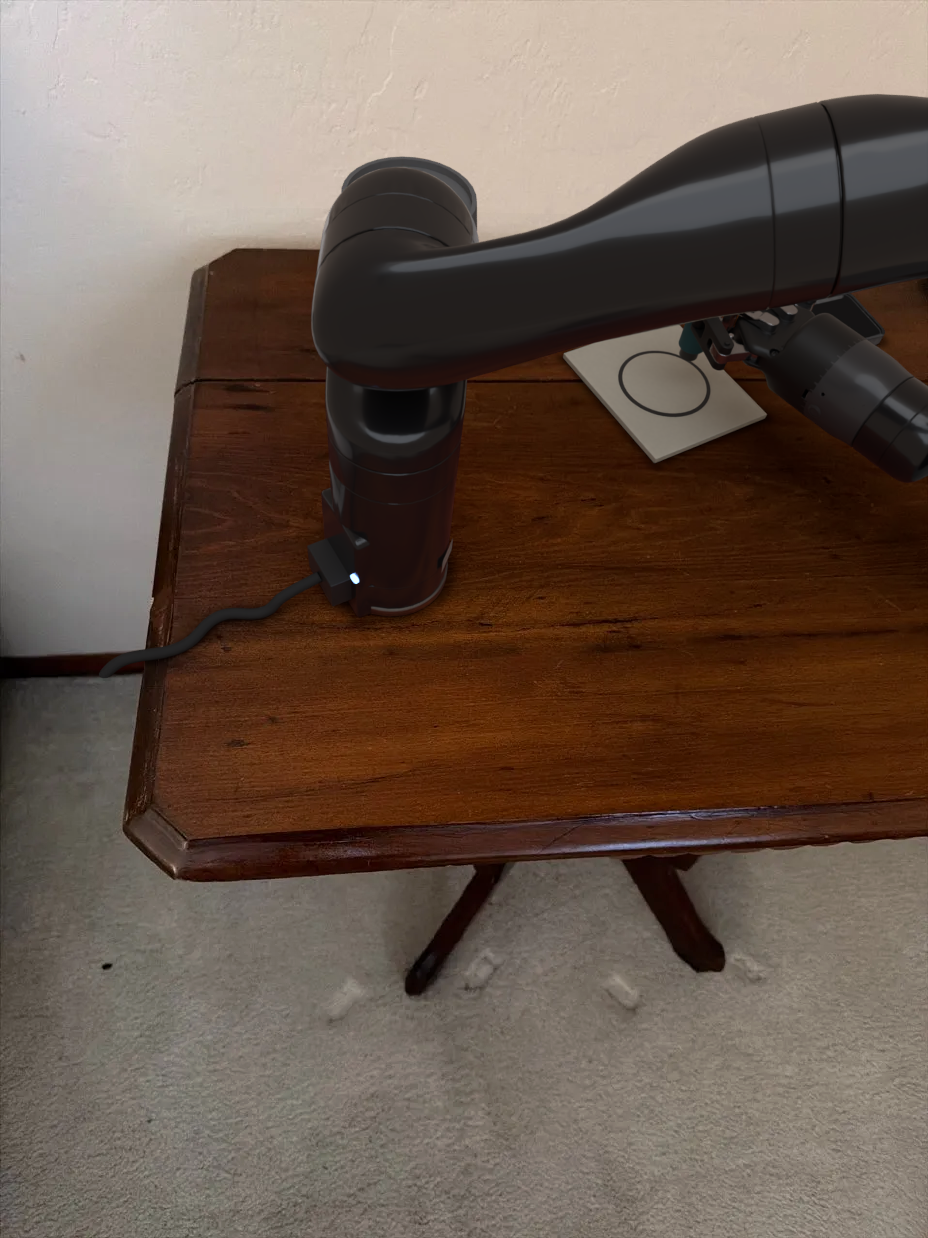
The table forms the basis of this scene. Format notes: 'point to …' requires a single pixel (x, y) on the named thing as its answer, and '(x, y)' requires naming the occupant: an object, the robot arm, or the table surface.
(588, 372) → the sketch pad
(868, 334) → the phone
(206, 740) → the table surface
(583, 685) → the table surface
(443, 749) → the table surface
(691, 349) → the marker
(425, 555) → the robot arm
